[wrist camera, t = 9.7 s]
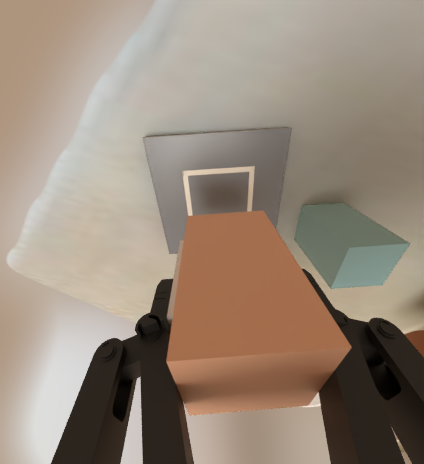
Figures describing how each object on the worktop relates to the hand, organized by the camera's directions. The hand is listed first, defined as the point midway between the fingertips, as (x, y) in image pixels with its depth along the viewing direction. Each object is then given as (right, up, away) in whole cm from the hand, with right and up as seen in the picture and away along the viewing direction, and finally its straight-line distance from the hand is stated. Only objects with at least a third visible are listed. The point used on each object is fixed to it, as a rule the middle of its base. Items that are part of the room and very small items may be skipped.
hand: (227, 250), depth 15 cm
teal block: (+15, +3, +13) cm, 20 cm away
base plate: (0, +6, +10) cm, 12 cm away
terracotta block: (0, +1, +1) cm, 1 cm away
